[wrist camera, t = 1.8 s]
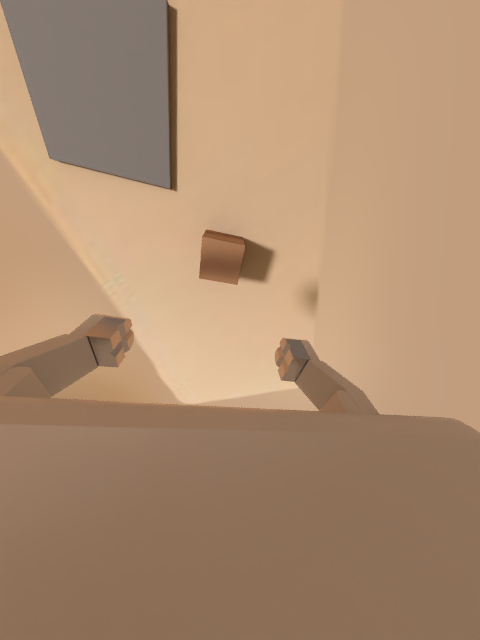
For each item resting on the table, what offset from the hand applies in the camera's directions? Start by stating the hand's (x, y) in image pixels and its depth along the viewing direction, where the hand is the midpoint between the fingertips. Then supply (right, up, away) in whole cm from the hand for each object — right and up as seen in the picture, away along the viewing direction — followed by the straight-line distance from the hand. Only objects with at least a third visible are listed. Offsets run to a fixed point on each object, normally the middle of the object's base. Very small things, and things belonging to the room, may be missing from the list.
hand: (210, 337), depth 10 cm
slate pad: (-11, +22, +7) cm, 26 cm away
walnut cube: (-1, +11, +16) cm, 19 cm away
